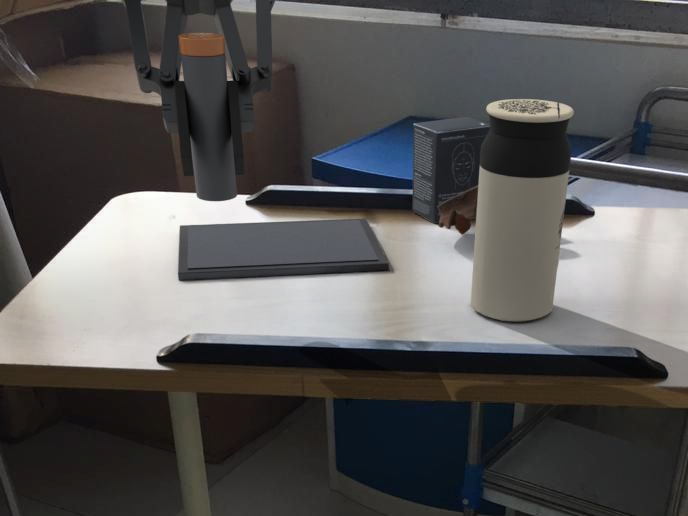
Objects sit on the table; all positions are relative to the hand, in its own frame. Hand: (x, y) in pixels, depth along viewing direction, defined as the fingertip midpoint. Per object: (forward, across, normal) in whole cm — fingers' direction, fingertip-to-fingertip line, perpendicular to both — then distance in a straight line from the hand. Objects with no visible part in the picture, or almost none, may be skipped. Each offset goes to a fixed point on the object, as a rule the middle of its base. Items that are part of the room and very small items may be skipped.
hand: (213, 165), depth 71 cm
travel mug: (+8, -27, -13) cm, 31 cm away
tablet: (-6, -6, -27) cm, 29 cm away
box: (-14, -28, -35) cm, 47 cm away
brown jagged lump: (-6, -30, -27) cm, 41 cm away
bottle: (0, 0, -5) cm, 5 cm away
